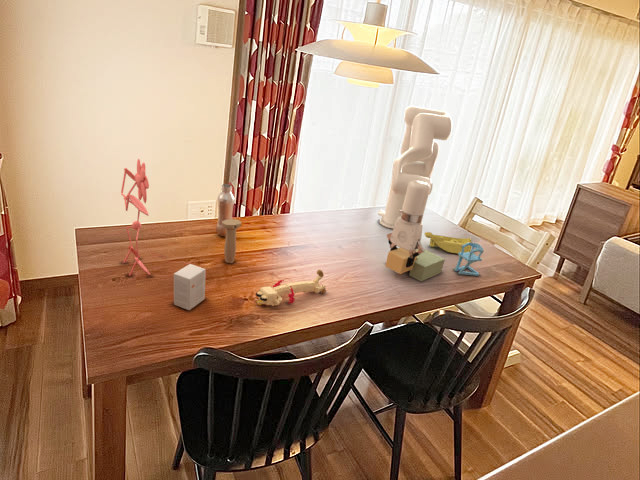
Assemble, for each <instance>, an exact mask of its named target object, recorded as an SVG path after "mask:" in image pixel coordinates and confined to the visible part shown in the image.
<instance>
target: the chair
mask: <svg viewBox="0 0 640 480" xmlns="http://www.w3.org/2000/svg"><path fill="white" fill-rule="evenodd" d="M468 245H470V246H471V251H470V252H465V253H463V252H464V247H466V246H468ZM475 253H478V255H476V254H475ZM483 253H484V248H483V246H482V245H481V244H479V243H475V242H471V243H466V244H464V245H462V251H461V252H460V253H458V260H457V263H456V266H455V268H454V272H458V273H457V274H458V275H464V276H465V275H466V276H474V277H479V276H480V272H478V271H477V270H475V269H474V268H472V267H471V266H470V265H472V264H475V263H476V262H482V261H483V259H482V258H481V256H482V254H483ZM463 259H464V260H465V261H466V262H467V263H466V264H465V265H462V266H461V263H462V260H463ZM467 269H468V270H469V271H465V270H467Z"/></svg>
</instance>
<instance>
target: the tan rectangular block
mask: <svg viewBox="0 0 640 480" xmlns="http://www.w3.org/2000/svg"><path fill="white" fill-rule="evenodd" d="M397 248H398V249H395V250H392V251H390V250H389V251H388V252H387V256H386V260H385V265H384V266H385V267H386V268H387V269H389V270H391V271H393V272H395V273H397V274H400V275H402V274H404V273H407V272H410V270H412V269H413V266H414V263H413V265H412V266H410V267H408V268H407V267H406V264H407V260H408V257H410V255H409V251H407V250H405V249H403V248H399V247H397ZM416 252H418V251H417V250H416ZM416 259H417V256H416V257H415V259H414V262H415V260H416Z"/></svg>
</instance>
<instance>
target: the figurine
mask: <svg viewBox="0 0 640 480" xmlns="http://www.w3.org/2000/svg"><path fill="white" fill-rule="evenodd" d="M123 172H124V173H123V177H122V184H121V190H120V193H121V196H122V197H123V200H124V206H125V208H124V209H125V211H126V212H128V210H129V203H130V204H131V205H133V206H134V207H135V208H136V209H137V220H134V221H133V222H132V224H131V225H130V226H126V232H127V235H128V239H129V243H130V245H128V246H127V247H128V252H127V254H126V256H125V258H124V260H123V262H122V263H123V264H126V262H127V260H128V258H129V256H130V254H131V253H132V254H133V255H134V260H135V262H134V264H133V265H132V268H131V269H130V272H129V273H128V276H129V277H131V276H132V274H133V272H134V270H135V269H136V266H137V264H138V266H139V267H140V269H142V270H143V271H144V272H145V274H147V275H148V276H151V273H150V271H149V270H148V269H147V267H146V266H145V264H144V263H143V262H142V261H141V260H140V257H141V255H140V253H139V246H138V244H139V243H138V239H139V233H140V230H141V228H142V223H141V222H140V213H141V214H144V215H145V216H147V217H148V216H150V214H149V212H148V210H147V208H146V206H145V205H144V204H146V203H147V200H148V191H147V190H148V189H149V188H150V183H149V179H148V177H147V175H146V173H147V172H146V163H145V162H144V161H143V162H142V163H141V160H140V158H137V161H136V173H135V174H133V173H132V172H131V171H130V170H129V169H128V168H127V167H125V168H123ZM127 176H128V177H129V178H131V179H132V181H134V183H133V185H132V187H131V188H130V190H129V191H128V192H127V195H125V194H124V189H125V183H126V177H127ZM135 187H137V196H138V197H136V195H133V194H131V193H132V192H133V190H134V189H135ZM141 200H143V202H142V201H141ZM130 228H132V229H133V230H136V231H137V232H136V237H135V238H136V239H135V245H136V247H134V246H133V244H132V239H131V235H130V231H129V229H130ZM135 248H136V249H135ZM151 254H153V255H156V256H159V257H161V258H164V259H165V260H167V258H166V257H165V256H163V255H160V254H157V253H153V252H151ZM170 264H172V261H170ZM171 270H172V269H170V271H171Z"/></svg>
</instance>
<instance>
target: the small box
mask: <svg viewBox="0 0 640 480" xmlns="http://www.w3.org/2000/svg"><path fill="white" fill-rule="evenodd" d="M206 271H207V270H206V268H203V267H200V266H198V265H195V264H191V263H189V264H187V265H186V266H184V267H182V268H180V269H179V270H178V271H176V272H174V273H173V305H174V306H177V307H179V308H181V309H184V310H187V311H191V310H192V309H193V308H195V307H196V306H197V305H199V304H200V303H201V302H203V301H204V300H205V299H206V273H207V272H206Z"/></svg>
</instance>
